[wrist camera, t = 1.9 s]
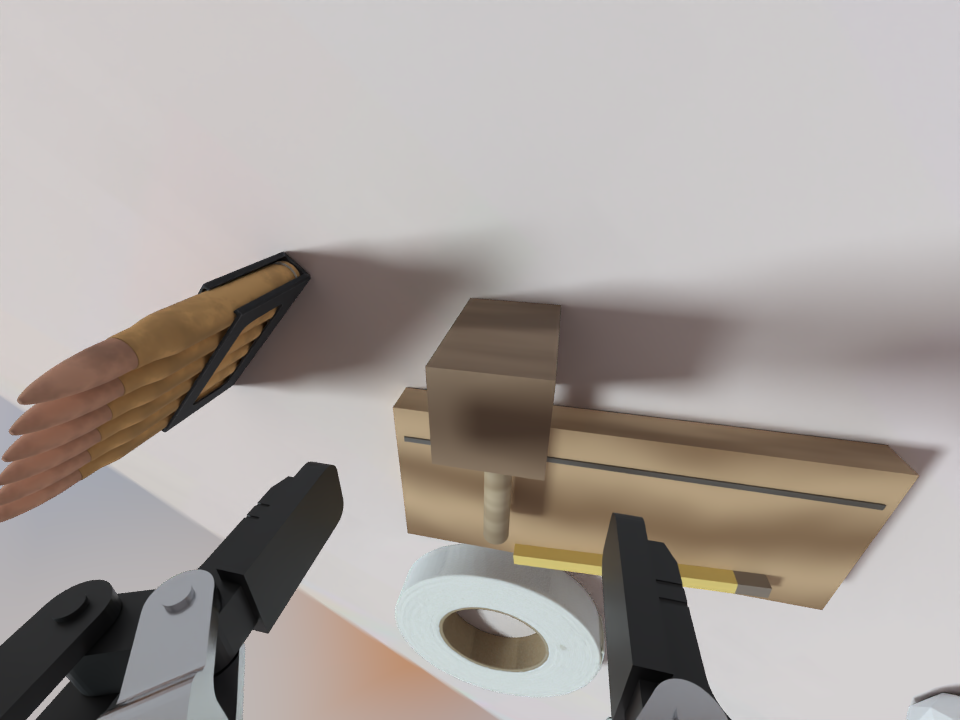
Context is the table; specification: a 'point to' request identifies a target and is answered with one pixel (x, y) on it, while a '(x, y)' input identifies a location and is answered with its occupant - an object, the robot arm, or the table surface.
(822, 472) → the board
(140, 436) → the ammunition clip
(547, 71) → the table surface
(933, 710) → the ball
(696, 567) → the pencil
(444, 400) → the block on a post
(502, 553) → the roll of tape
